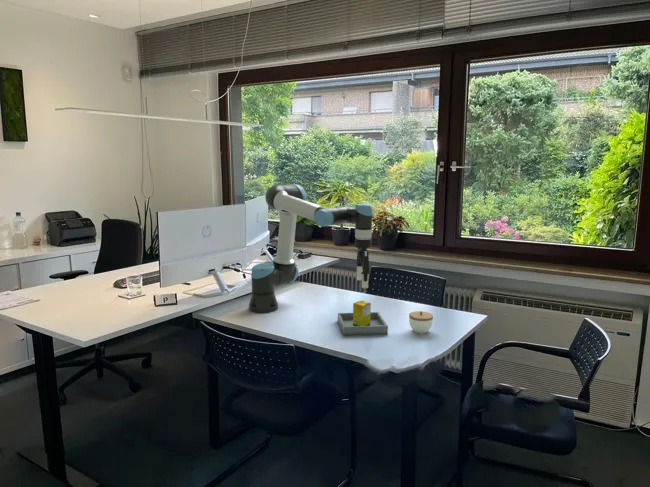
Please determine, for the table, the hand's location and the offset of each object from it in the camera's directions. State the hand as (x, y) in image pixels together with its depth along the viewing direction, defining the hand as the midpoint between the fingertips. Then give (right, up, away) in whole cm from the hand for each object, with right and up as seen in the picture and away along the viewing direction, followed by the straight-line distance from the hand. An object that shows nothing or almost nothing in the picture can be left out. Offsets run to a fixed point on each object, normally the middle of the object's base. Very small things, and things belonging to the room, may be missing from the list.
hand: (362, 283), depth 225 cm
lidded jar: (+27, -22, -1) cm, 34 cm away
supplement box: (0, -20, +3) cm, 20 cm away
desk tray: (0, -21, +3) cm, 21 cm away
